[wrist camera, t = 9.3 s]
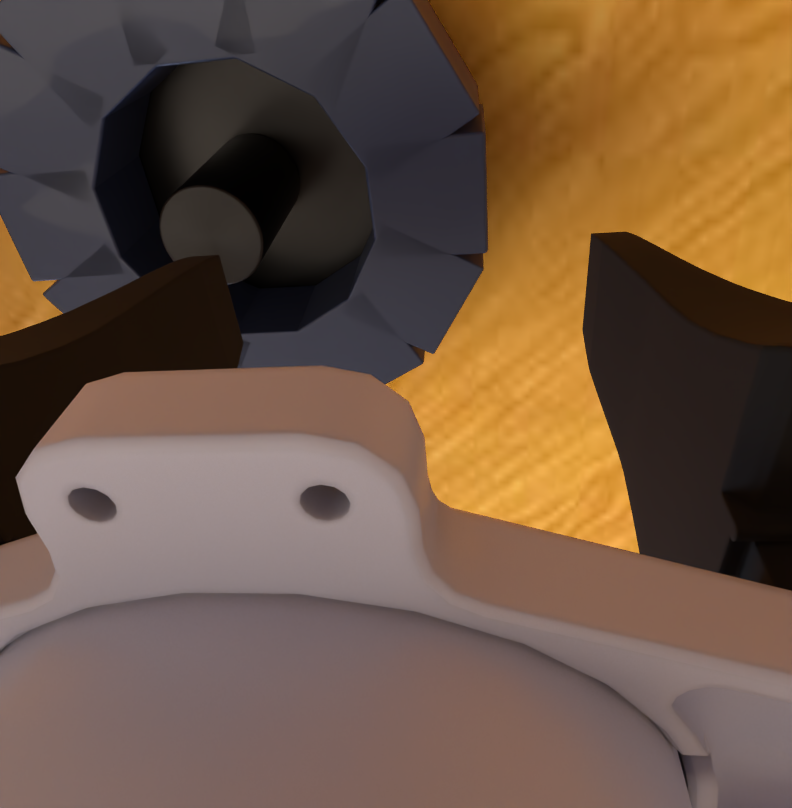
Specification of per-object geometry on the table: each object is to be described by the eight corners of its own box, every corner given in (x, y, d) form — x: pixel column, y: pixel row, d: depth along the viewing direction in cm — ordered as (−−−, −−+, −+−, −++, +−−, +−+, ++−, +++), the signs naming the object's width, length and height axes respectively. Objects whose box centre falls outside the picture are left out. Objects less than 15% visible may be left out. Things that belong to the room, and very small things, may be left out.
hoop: (255, 415, 25) (234, 468, 23) (-48, 119, 19) (-122, 148, 17) (566, 234, 20) (579, 278, 17) (276, -258, 14) (236, -294, 11)
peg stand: (259, 335, 24) (213, 432, 20) (66, 126, 20) (-50, 187, 16) (464, 205, 21) (464, 286, 16) (278, -83, 16) (207, -82, 12)
